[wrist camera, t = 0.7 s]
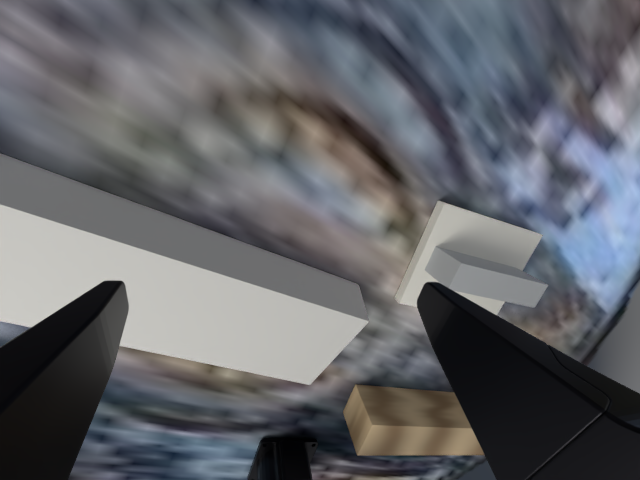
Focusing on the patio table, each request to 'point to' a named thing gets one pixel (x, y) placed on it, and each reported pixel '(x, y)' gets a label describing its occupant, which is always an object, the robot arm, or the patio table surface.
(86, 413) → the robot arm
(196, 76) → the patio table surface
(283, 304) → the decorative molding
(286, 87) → the patio table surface
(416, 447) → the oak bar
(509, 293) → the fulcrum stand
